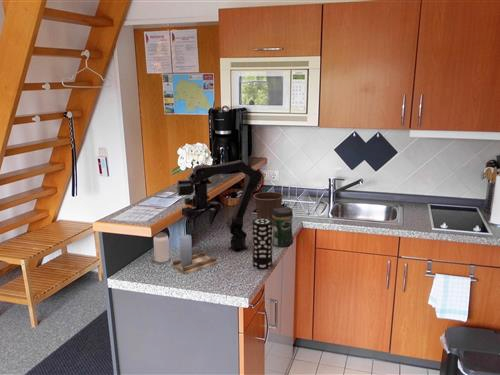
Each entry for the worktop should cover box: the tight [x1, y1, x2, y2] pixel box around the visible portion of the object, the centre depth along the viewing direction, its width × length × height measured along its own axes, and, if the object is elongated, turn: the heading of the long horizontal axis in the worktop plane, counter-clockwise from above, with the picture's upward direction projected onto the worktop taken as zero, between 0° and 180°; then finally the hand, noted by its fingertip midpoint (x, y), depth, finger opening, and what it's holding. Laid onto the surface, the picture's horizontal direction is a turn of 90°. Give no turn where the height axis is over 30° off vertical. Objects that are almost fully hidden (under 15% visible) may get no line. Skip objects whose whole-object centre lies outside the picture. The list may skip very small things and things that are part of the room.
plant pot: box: [253, 191, 284, 227], centre depth 235 cm, size 16×16×16 cm
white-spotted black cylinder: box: [251, 218, 273, 271], centre depth 179 cm, size 8×8×20 cm
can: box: [153, 232, 170, 264], centre depth 187 cm, size 6×6×12 cm
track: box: [171, 251, 218, 275], centre depth 183 cm, size 16×11×2 cm
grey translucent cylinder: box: [179, 234, 193, 267], centre depth 179 cm, size 5×5×13 cm
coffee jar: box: [272, 206, 294, 248], centre depth 203 cm, size 10×8×19 cm
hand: (202, 226), depth 192 cm, fingers open, 9 cm apart
